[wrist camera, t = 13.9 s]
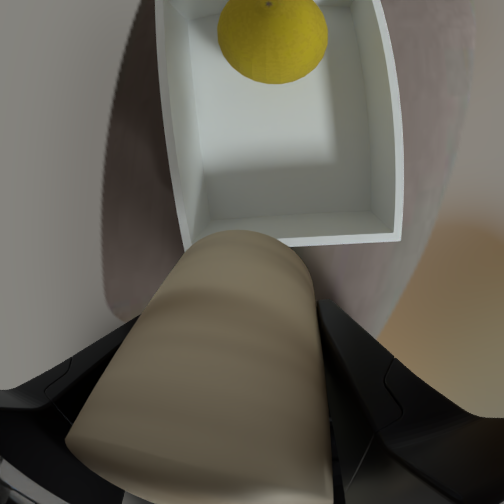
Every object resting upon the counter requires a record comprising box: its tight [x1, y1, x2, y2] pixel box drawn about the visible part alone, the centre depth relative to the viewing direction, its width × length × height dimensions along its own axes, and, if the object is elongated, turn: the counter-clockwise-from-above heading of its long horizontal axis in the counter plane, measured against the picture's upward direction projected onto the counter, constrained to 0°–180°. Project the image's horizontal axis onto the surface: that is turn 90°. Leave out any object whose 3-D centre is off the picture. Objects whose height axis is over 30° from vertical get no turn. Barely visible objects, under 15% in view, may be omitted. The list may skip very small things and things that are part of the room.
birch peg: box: [65, 230, 333, 504], centre depth 7 cm, size 5×5×7 cm
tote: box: [155, 0, 404, 252], centre depth 14 cm, size 16×12×5 cm
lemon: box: [217, 0, 328, 84], centre depth 11 cm, size 6×6×8 cm
